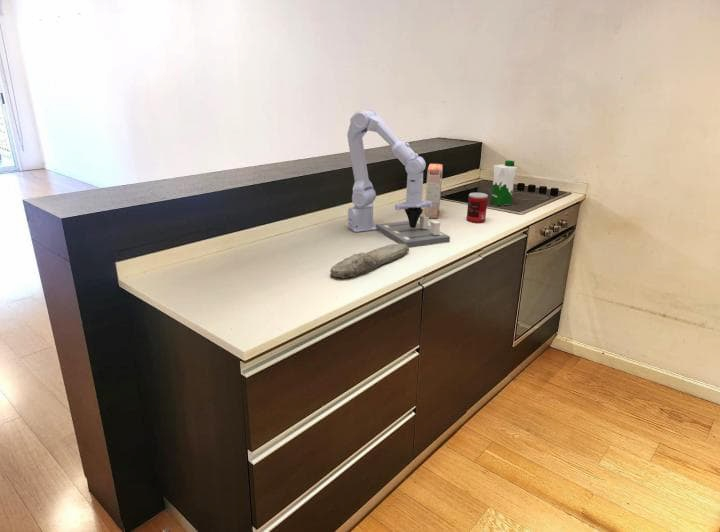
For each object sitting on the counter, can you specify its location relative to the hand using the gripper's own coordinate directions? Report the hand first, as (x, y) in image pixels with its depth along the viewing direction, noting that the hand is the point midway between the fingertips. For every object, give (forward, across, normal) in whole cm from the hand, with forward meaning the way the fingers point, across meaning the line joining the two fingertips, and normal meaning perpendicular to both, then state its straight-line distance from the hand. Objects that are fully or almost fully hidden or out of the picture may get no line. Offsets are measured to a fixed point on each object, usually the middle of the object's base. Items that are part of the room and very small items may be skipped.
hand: (412, 227), depth 185 cm
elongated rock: (+4, -27, -21) cm, 34 cm away
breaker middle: (+1, +5, 0) cm, 5 cm away
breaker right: (+1, +5, -8) cm, 9 cm away
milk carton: (+3, +63, +27) cm, 68 cm away
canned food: (+3, +35, +8) cm, 36 cm away
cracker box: (+3, +23, +23) cm, 32 cm away
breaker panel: (+3, 0, 0) cm, 3 cm away
